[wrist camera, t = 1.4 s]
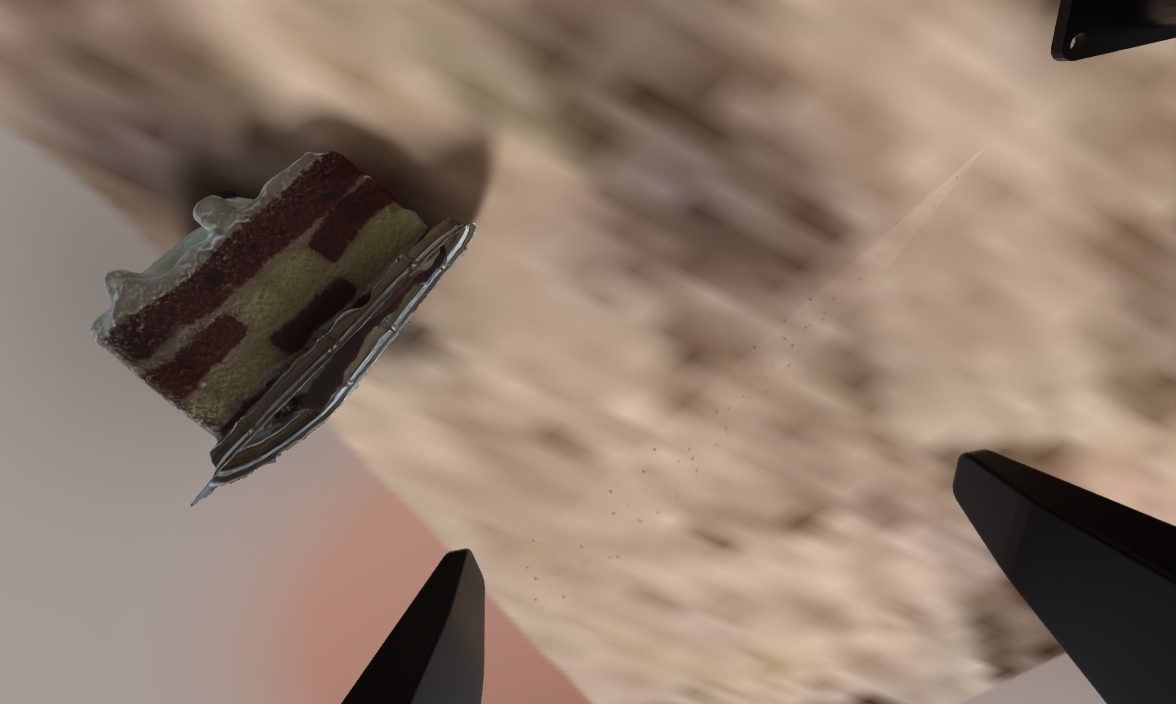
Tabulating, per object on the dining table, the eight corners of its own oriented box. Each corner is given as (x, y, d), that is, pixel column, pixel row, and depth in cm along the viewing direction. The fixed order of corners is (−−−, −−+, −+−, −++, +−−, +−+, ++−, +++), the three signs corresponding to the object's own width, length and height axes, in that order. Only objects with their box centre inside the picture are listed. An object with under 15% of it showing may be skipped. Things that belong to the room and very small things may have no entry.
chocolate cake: (320, 46, 16) (-142, 298, 11) (490, 209, 16) (137, 515, 11) (341, 201, 24) (90, 382, 19) (452, 303, 25) (241, 502, 20)
